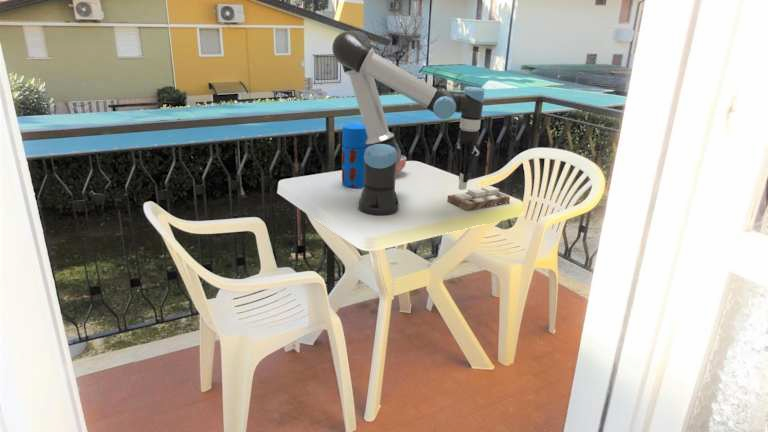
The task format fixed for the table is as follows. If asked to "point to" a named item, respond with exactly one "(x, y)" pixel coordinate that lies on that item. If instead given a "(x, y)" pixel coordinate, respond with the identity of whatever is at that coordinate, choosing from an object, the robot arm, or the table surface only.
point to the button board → (478, 201)
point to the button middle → (476, 193)
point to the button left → (462, 196)
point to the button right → (490, 190)
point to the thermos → (353, 155)
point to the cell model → (401, 164)
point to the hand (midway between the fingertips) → (462, 189)
